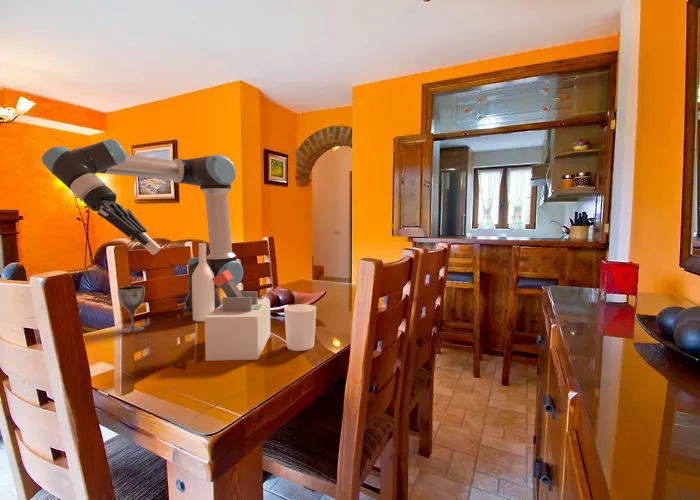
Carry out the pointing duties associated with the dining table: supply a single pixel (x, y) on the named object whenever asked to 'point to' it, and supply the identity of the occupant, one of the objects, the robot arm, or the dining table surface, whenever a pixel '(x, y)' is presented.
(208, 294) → the bottle
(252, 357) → the box
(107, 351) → the dining table surface
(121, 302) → the wine glass
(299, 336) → the candle holder
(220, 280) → the toggle
